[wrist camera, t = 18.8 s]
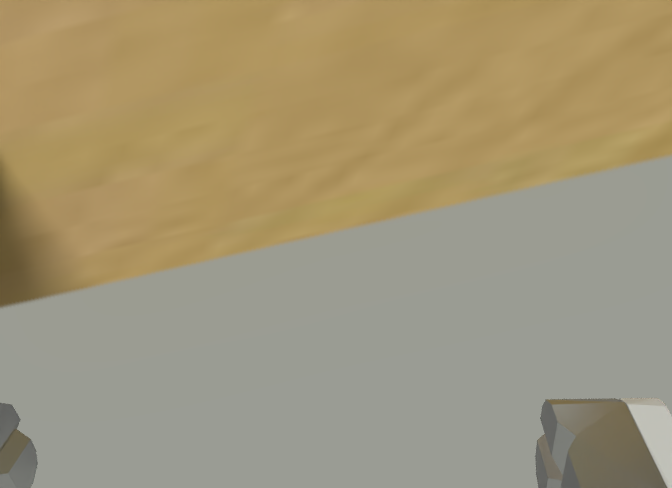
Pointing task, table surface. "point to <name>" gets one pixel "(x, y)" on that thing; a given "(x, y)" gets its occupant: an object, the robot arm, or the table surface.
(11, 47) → the table surface
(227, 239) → the table surface
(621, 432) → the robot arm
